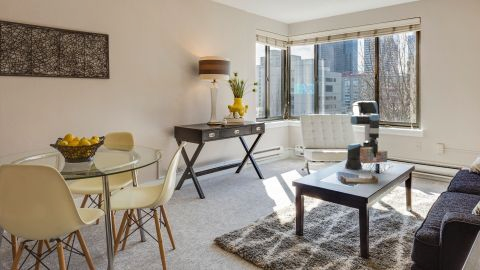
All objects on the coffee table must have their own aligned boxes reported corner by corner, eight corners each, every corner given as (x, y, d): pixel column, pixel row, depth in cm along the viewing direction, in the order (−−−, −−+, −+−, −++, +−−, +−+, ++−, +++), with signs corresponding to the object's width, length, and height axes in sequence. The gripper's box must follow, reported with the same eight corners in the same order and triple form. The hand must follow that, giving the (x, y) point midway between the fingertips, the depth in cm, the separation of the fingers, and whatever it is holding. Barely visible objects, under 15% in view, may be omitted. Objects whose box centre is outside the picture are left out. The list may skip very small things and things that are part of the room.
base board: (340, 179, 278) (340, 174, 278) (373, 179, 276) (373, 175, 275) (343, 183, 266) (344, 178, 266) (378, 183, 264) (378, 178, 263)
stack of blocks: (382, 160, 289) (383, 146, 287) (387, 162, 283) (387, 147, 281) (359, 161, 285) (360, 147, 284) (363, 163, 279) (364, 148, 277)
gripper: (365, 131, 291) (365, 157, 294) (373, 134, 271) (371, 162, 274) (375, 131, 290) (374, 157, 293) (382, 134, 270) (381, 162, 274)
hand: (373, 160), depth 284 cm, fingers closed on stack of blocks, 7 cm apart
